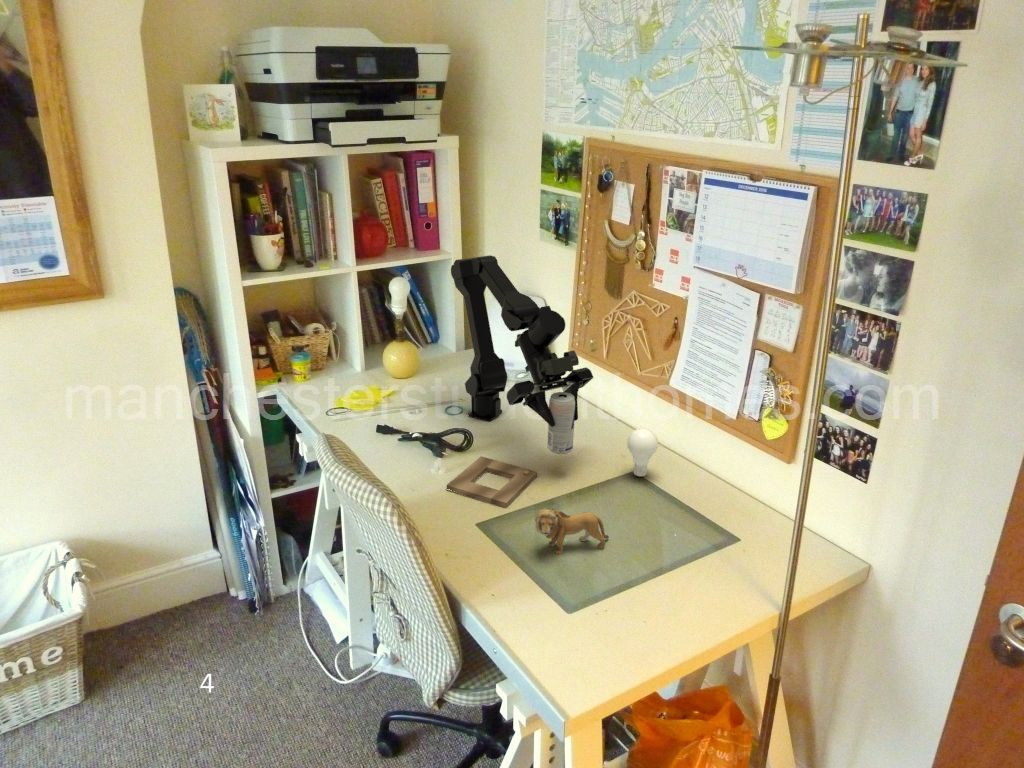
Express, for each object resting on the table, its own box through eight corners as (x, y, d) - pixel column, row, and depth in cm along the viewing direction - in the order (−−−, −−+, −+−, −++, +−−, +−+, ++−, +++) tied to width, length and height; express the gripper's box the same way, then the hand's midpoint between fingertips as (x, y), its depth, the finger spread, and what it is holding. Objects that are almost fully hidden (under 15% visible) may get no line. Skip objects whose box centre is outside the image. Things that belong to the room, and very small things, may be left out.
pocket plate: (446, 490, 156) (446, 483, 155) (480, 460, 167) (480, 454, 167) (506, 508, 150) (506, 501, 149) (537, 476, 161) (537, 470, 161)
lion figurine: (540, 563, 134) (541, 520, 130) (529, 546, 138) (530, 504, 135) (614, 546, 138) (617, 505, 135) (601, 531, 143) (604, 490, 139)
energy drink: (573, 443, 162) (576, 392, 157) (572, 455, 157) (574, 403, 153) (548, 441, 163) (550, 390, 158) (546, 453, 158) (548, 401, 153)
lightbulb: (654, 484, 159) (658, 438, 154) (623, 481, 160) (627, 435, 155) (655, 470, 164) (659, 424, 160) (625, 466, 165) (629, 421, 161)
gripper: (514, 347, 149) (542, 419, 145) (591, 331, 158) (619, 399, 154) (494, 370, 159) (520, 438, 155) (568, 354, 167) (594, 418, 163)
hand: (565, 423), depth 156 cm, fingers closed on energy drink, 5 cm apart
